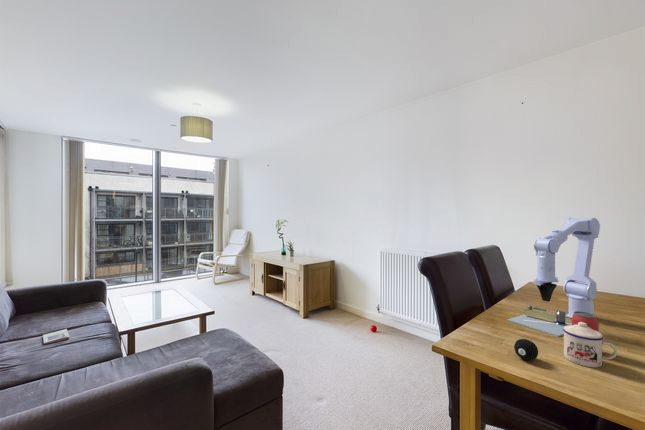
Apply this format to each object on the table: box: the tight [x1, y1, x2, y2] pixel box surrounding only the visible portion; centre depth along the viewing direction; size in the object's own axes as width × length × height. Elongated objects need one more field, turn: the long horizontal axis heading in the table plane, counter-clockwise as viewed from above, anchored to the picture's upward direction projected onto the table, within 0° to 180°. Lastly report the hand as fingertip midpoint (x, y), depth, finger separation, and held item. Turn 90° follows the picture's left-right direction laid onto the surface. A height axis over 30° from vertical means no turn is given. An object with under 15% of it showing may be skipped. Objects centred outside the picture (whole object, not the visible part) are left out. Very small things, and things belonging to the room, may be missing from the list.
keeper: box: [532, 307, 547, 312], centre depth 124 cm, size 2×4×3 cm, turn 28°
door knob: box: [555, 310, 567, 326], centre depth 115 cm, size 4×4×5 cm
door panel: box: [506, 313, 572, 338], centre depth 116 cm, size 19×18×1 cm
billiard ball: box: [513, 338, 539, 361], centre depth 87 cm, size 6×6×6 cm
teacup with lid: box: [563, 322, 618, 368], centre depth 86 cm, size 12×9×12 cm
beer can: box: [571, 311, 600, 333], centre depth 93 cm, size 7×7×12 cm
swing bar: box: [524, 305, 556, 322], centre depth 120 cm, size 10×2×4 cm, turn 39°
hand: (546, 300), depth 115 cm, fingers closed
